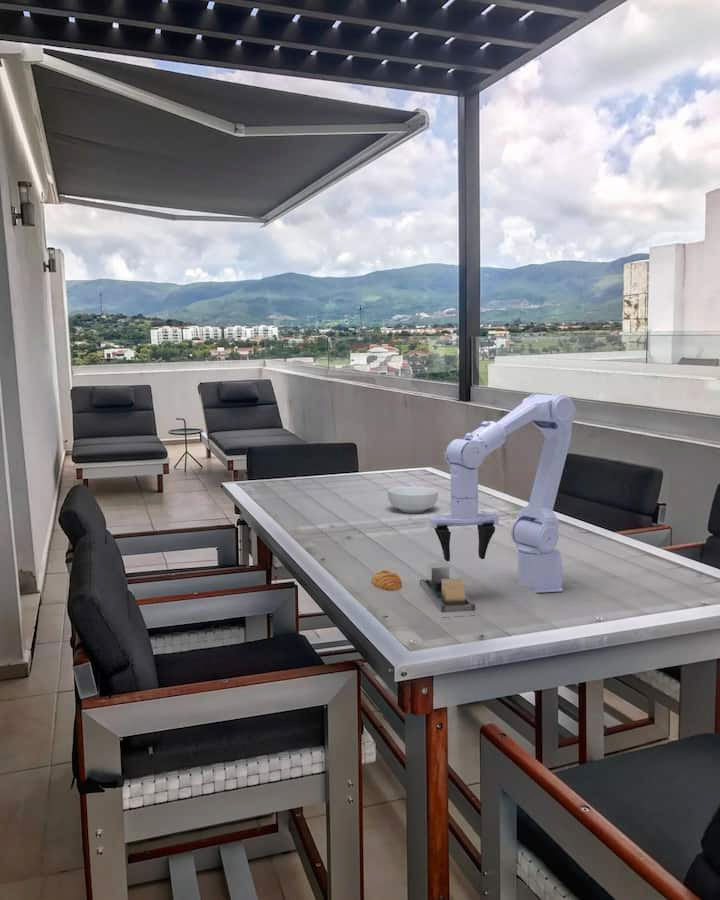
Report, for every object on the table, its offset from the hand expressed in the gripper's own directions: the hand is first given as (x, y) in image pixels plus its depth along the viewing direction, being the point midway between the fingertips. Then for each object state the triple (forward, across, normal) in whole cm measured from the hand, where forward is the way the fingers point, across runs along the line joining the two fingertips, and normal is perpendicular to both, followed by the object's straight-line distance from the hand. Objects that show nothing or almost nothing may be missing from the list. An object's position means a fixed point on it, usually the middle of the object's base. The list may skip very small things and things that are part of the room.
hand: (464, 559), depth 174 cm
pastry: (+10, +14, -13) cm, 22 cm away
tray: (+10, +4, -2) cm, 10 cm away
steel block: (+8, +4, -9) cm, 13 cm away
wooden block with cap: (+8, +4, +4) cm, 10 cm away
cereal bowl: (+10, -11, -100) cm, 101 cm away
